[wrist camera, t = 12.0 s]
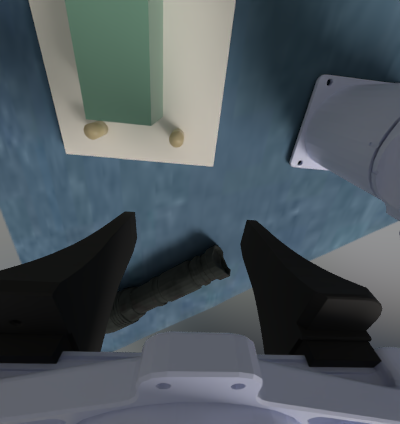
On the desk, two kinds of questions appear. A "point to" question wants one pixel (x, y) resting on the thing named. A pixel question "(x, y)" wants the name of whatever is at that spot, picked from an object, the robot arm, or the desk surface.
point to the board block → (119, 58)
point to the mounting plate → (172, 85)
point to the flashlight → (167, 288)
